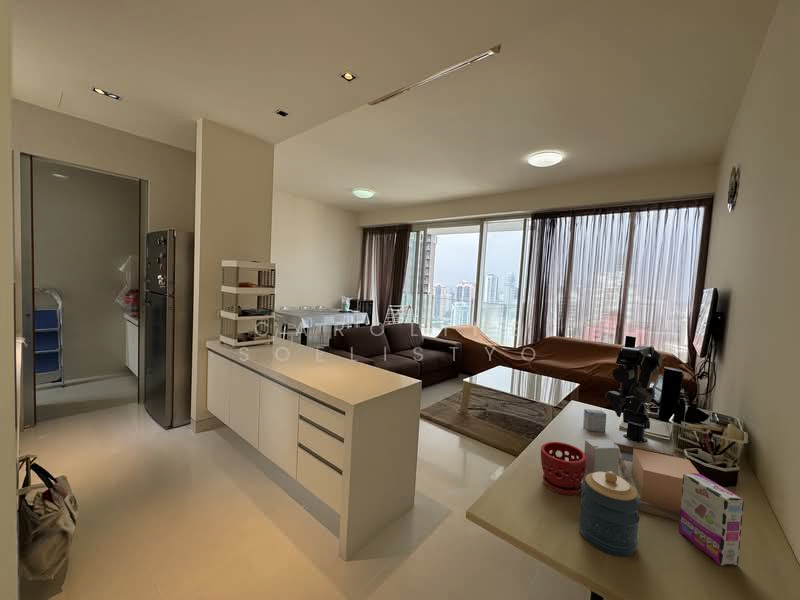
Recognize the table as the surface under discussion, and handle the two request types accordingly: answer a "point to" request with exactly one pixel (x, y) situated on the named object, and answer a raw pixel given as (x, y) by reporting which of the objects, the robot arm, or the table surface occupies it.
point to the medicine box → (594, 420)
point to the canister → (609, 513)
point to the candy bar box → (711, 518)
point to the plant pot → (563, 467)
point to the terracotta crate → (660, 477)
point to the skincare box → (601, 457)
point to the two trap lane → (627, 455)
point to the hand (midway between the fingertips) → (626, 415)
